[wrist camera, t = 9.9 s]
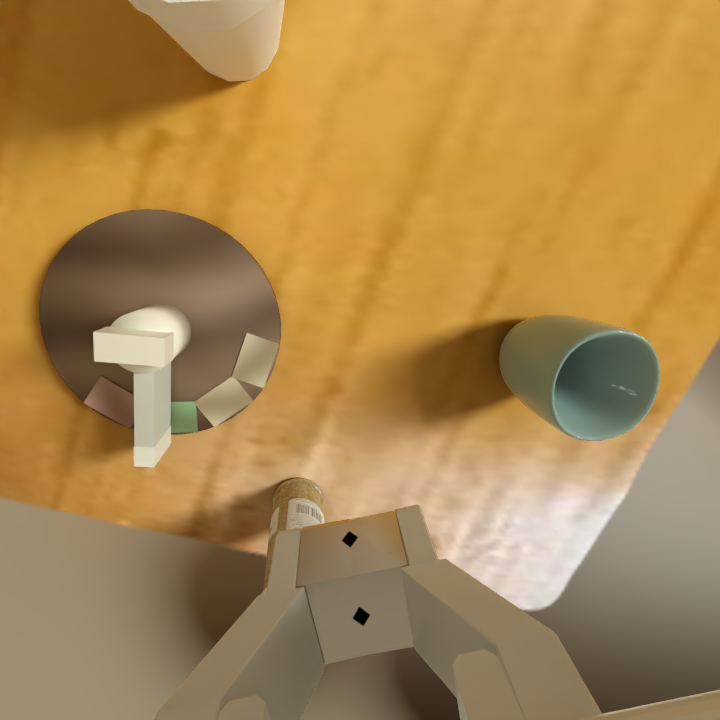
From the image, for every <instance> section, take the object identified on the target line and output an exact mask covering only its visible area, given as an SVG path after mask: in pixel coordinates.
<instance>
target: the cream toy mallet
mask: <svg viewBox="0 0 720 720" xmlns="http://www.w3.org/2000/svg"><path fill="white" fill-rule="evenodd" d="M190 339H191V326H190V323H189V321H188V319H187V318H186V316H185V315H184V314H183V313H182V312H181V311H180V310H179V309H177V308H175V307H173V306H171V305H168V304H153V305H150V306H147V307H144V308H142V309H139V310H136V311H133V312H131V313H128V314H125V315H123V316H121V317H119V318H118V319H116V320H115V321H114V322H113V324H112V325H111V326H110V327H105V328H102V329H99V330H97V331H94V332H93V343H94V361H95V362H108V363H118V364H119V365H120V366H121V367H123V368H125V369H126V370H129V371H131V372H134V466H139V467H155V466H156V464H157V463H158V461H159V460H160V459H161V457H162V456H163V454H164V453H165V451H166V450H167V449H168V447H169V446H170V444H171V426H170V419H171V361H172V360H173V359H174V358H175V357H176V356H177V355H178V354H179V353H181V352H182V351H183V350H184V349H185V348H186V347H187V345H188V344H189V342H190Z"/></svg>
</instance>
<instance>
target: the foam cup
mask: <svg viewBox="0 0 720 720" xmlns="http://www.w3.org/2000/svg"><path fill="white" fill-rule="evenodd" d="M128 1H129V2H130V3H131V4H132V5H133V6H134V7H135V9H136V10H138V11H140V12H143V13H145V14H147V15H149V16H150V17H151V18H152V19H153V20H154V21H155V22H156V23H157V24H158V25H159V26H160V27H161V28H163V29H164V30H165V31H166V32H167V33H168V34H169V35H170V36H171V37H172V38H173V39H174V40H175V41H176V42H177V43H178V44H179V45H180V46H181V47H182V48H183V49H184V50H185V51H186V52H187V53H188V54H189V55H190V56H192V57H193V58H194V59H195V60H196V61H197V62H198V63H199V64H200V65H201V66H202V67H203V68H204V69H205V70H206V71H208V73H210V74H213V75H215V76H217V77H220V78H222V79H224V80H226V81H229V82H233V81H248V80H251V79H253V78H254V77H256V76H257V75H259V74H260V73H262V72H264V71H265V70H267V69H268V67H269V65H270V63H271V61H272V59H273V58H274V56H275V54H276V52H277V50H278V46H279V39H280V32H281V25H282V18H283V11H284V3H285V0H128Z"/></svg>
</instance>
